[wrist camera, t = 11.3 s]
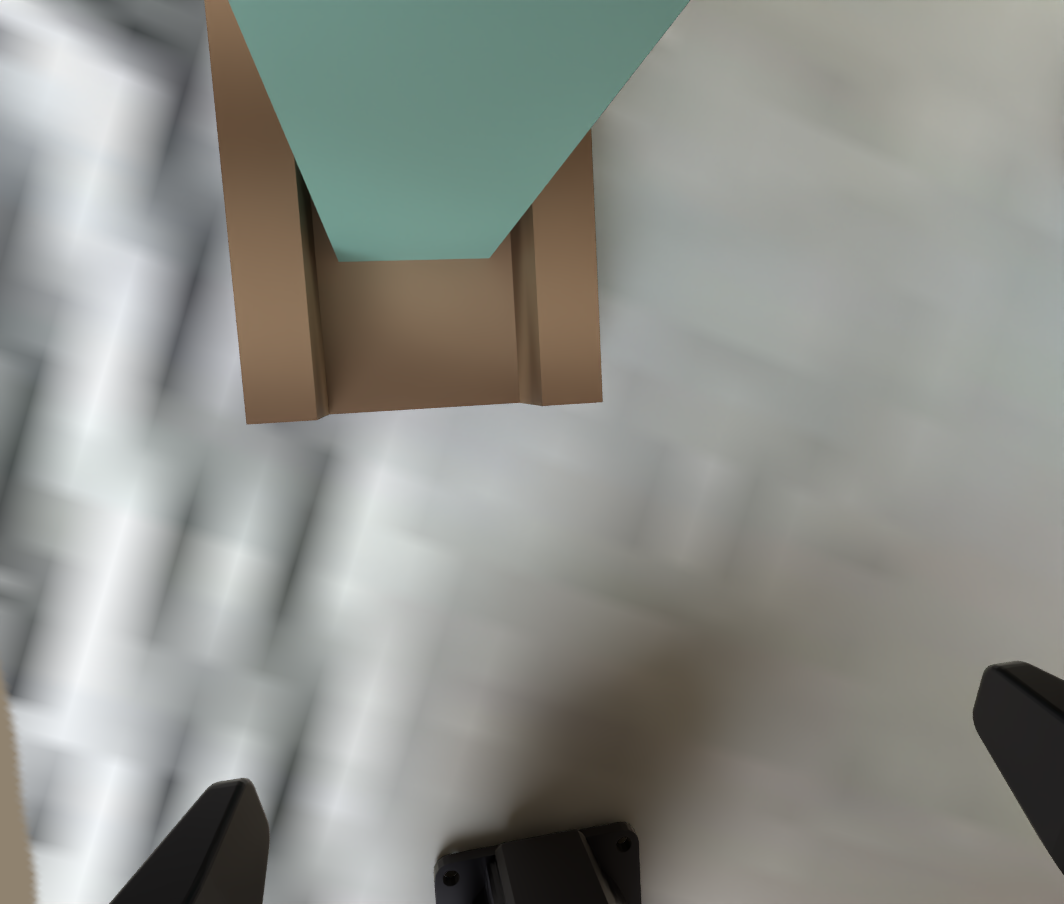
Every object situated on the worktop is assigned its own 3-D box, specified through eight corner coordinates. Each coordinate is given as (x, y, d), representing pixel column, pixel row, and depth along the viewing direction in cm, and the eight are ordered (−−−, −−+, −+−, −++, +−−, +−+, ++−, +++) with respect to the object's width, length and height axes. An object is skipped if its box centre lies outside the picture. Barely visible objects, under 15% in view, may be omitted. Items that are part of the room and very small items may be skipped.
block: (489, 258, 19) (695, -8, 6) (338, 261, 18) (214, -34, 5) (479, 105, 18) (680, -528, 6) (324, 102, 17) (152, -638, 5)
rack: (562, 398, 21) (602, 402, 17) (276, 416, 19) (246, 424, 15) (541, -28, 19) (580, -132, 15) (232, -48, 18) (187, -170, 14)
